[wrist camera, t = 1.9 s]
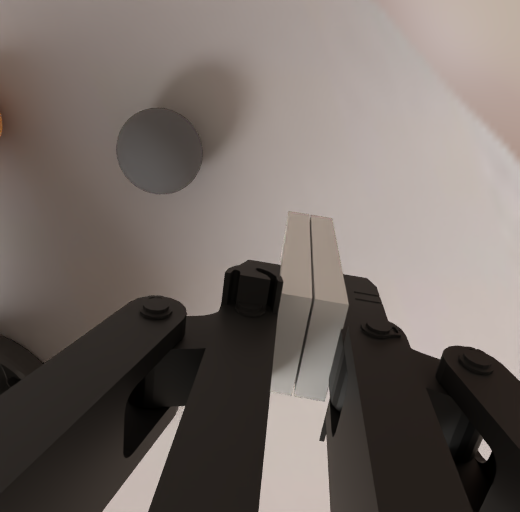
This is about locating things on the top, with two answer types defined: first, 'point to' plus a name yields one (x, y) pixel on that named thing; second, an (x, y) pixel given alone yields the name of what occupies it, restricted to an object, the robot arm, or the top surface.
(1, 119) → the object ball
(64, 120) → the top surface
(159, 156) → the dark gray ball
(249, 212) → the top surface
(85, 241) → the top surface
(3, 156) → the top surface
